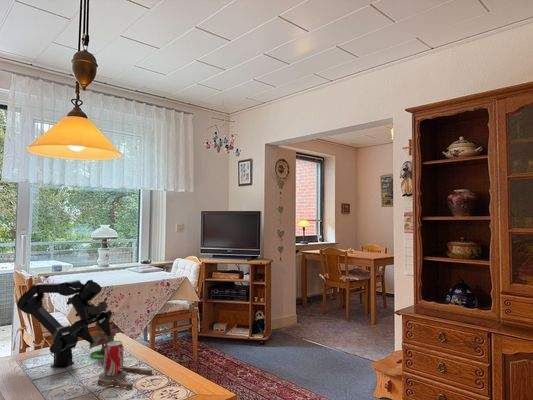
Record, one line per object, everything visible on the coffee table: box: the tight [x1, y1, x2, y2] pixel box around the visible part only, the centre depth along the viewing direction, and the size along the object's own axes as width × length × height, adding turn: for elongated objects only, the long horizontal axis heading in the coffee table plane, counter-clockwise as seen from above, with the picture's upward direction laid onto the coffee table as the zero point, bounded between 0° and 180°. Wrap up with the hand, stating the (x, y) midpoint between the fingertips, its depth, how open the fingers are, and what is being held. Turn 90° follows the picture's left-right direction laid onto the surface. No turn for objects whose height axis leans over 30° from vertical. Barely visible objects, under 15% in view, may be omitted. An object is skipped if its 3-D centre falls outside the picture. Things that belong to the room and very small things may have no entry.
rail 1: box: [97, 378, 134, 389], centre depth 140 cm, size 14×1×2 cm, turn 76°
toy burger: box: [88, 318, 117, 360], centre depth 172 cm, size 12×13×15 cm
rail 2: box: [123, 365, 153, 375], centre depth 153 cm, size 14×1×2 cm, turn 76°
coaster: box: [98, 370, 127, 381], centre depth 149 cm, size 10×10×1 cm
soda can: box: [103, 340, 125, 377], centre depth 150 cm, size 7×7×12 cm
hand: (101, 339), depth 153 cm, fingers open, 9 cm apart
